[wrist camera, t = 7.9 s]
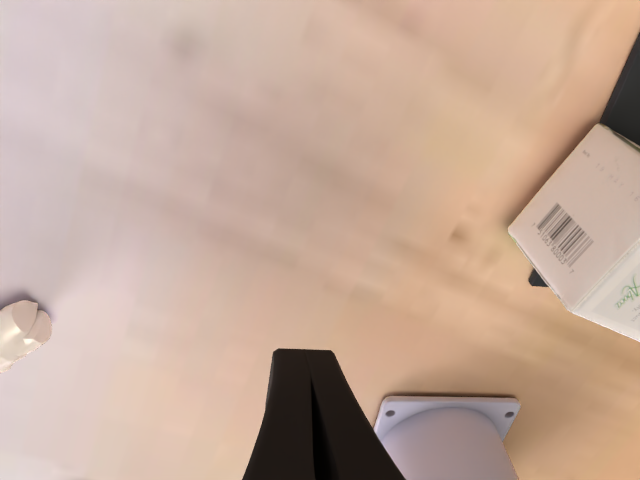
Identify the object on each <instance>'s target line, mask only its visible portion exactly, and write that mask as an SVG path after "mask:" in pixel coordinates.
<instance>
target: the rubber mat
mask: <svg viewBox="0 0 640 480" xmlns="http://www.w3.org/2000/svg"><path fill="white" fill-rule="evenodd" d="M600 123H602V124H603V125H605V126H607V127H609V128H610V129H612V130H613V131H615V132H616V133H618V134H620V135H621V136H623V137H625V138H627V139H628V140H630V141H632V142H634V143H636V144H637V145H639V146H640V33H639V35H638V38H637V40H636V42H635V44H634V47H633V49H632V51H631V53H630V56H629V58H628V60H627V62H626V65H625V67H624V69H623V71H622V73H621V76H620V78H619V80H618V82H617V85H616V87H615V89H614V91H613V94H612V96H611V98H610V100H609V103H608V105H607V107H606V109H605V112H604V114H603V116H602V118H601V120H600ZM529 282H530V284H531V285H532V286H542V287H549V286H548V285H547V284H546V283H545V281H544V280H543V279H542V278H541V276H540V275H539V274H538V272H537V271H536V270H535V268H534V270H533V273H532V275H531V277H530V279H529Z"/></svg>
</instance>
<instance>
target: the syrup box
mask: <svg viewBox="0 0 640 480" xmlns="http://www.w3.org/2000/svg"><path fill="white" fill-rule="evenodd" d="M508 233H509V235H510V236H511V237H512V239H513V240H514V241H515V243H516V244H517V246H518V247H519V248H520V250H521V251H522V252H523V254H524V255H525V256H526V258H527V259H528V260H529V262H530V263H531V264H532V266H533V267H534V268H535V270H536V271H537V272H538V274H539V275H540V276H541V278H542V279H543V280H544V281H545V283H546V284H547V285H548V286H549V287H550V288H551V290H552V291H553V292H554V293H555V295H556V296H557V297H558V298H559V300H560V301H561V302H562V304H563V305H564V307H565V308H566V309H567V310H568V311H570V312H571V313H573V314H575V315H577V316H580V317H582V318H585V319H587V320H590V321H592V322H594V323H597V324H599V325H601V326H603V327H606V328H609V329H611V330H613V331H615V332H618V333H620V334H622V335H624V336H627V337H629V338H632V339H634V340H636V341H639V342H640V146H639V145H637V144H636V143H634V142H632V141H630V140H628V139H627V138H625V137H623V136H621V135H620V134H618V133H616V132H615V131H613V130H612V129H610V128H609V127H607V126H605V125H603V124H602V123H597V124H596V125H595V126H594V127H593V128H592V129H591V130H590V132H589V133H588V134H587V135H586V136H585V138H584V139H583V140H582V141H581V142H580V143H579V144H578V146H577V147H576V148H575V149H574V150H573V151H572V153H571V154H570V155H569V156H568V157H567V158H566V159H565V161H564V162H563V163H562V164H561V165H560V166H559V167H558V169H557V170H556V171H555V172H554V174H553V175H552V176H551V177H550V178H549V179H548V181H547V182H546V183H545V184H544V185H543V186H542V188H541V189H540V190H539V191H538V192H537V194H536V195H535V196H534V197H533V198H532V200H531V201H530V202H529V203H528V204H527V206H526V207H525V208H524V209H523V210H522V212H521V213H520V214H519V215H518V216H517V218H516V219H515V220H514V221H513V222H512V224H511V225H510V226H509V228H508Z"/></svg>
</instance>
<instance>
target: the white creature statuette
mask: <svg viewBox="0 0 640 480" xmlns="http://www.w3.org/2000/svg"><path fill="white" fill-rule="evenodd" d="M37 308H38V303H33V302H30V301H27V300H23V301H19V302H16V303H13V304H10V305H8V306H6V307H4V308H3V309H2V310H0V373H2V372H5V371H7V370H9V369H10V368H11V366H12V365H13V363H14V362H16V361H18V360H20V359H22V358H24V357H25V356H26V355H27V353H29V352H32V351H34V350H36V349H38V348H39V347H40V346H41V345H43V344H44V343H45V342H47V341H48V340H49V339H50V336H51V332H52V324H51V320H50V318H49V316H48V315H47V313H45V312H44V311H39V310H37Z"/></svg>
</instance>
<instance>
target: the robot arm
mask: <svg viewBox="0 0 640 480" xmlns="http://www.w3.org/2000/svg"><path fill="white" fill-rule="evenodd" d="M520 407H521V406H520V403H519V401H518V400H517V399H516V398H490V397H428V396H389V397H386V398H385V399H384V400H383V401H382V404H381V407H380V410H379V414H378V417H377V420H376V423H375V427H374V430H373V428H372V426H371V425H370V423H369V421H368V420H367V418H366V416H365V414H364V413H363V411H362V409H361V407H360V406H359V404H358V402H357V400H356V398H355V396H354V394H353V392H352V390H351V388H350V387H349V385H348V383H347V381H346V378H345V376H344V374H343V372H342V370H341V368H340V366H339V363H338V361H337V359H336V356H335V354H334V353H333V352H332V351H331V350H306V349H277V350H276V351H274V352H273V357H272V364H271V371H270V377H269V384H268V391H267V398H266V408H265V414H264V417H263V421H262V425H261V428H260V431H259V434H258V437H257V440H256V443H255V446H254V449H253V452H252V455H251V458H250V461H249V463H248V466H247V469H246V471H245V474H244V476H243V479H242V480H519V478H518V476H517V474H516V472H515V469H514V467H513V465H512V463H511V460H510V458H509V456H508V454H507V451H506V449H505V447H504V445H503V440H504V438H505V436H506V434H507V433H508V431H509V429H510V427H511V425H512V423H513V421H514V419H515V417H516V415H517V413H518V411H519V409H520Z"/></svg>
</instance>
